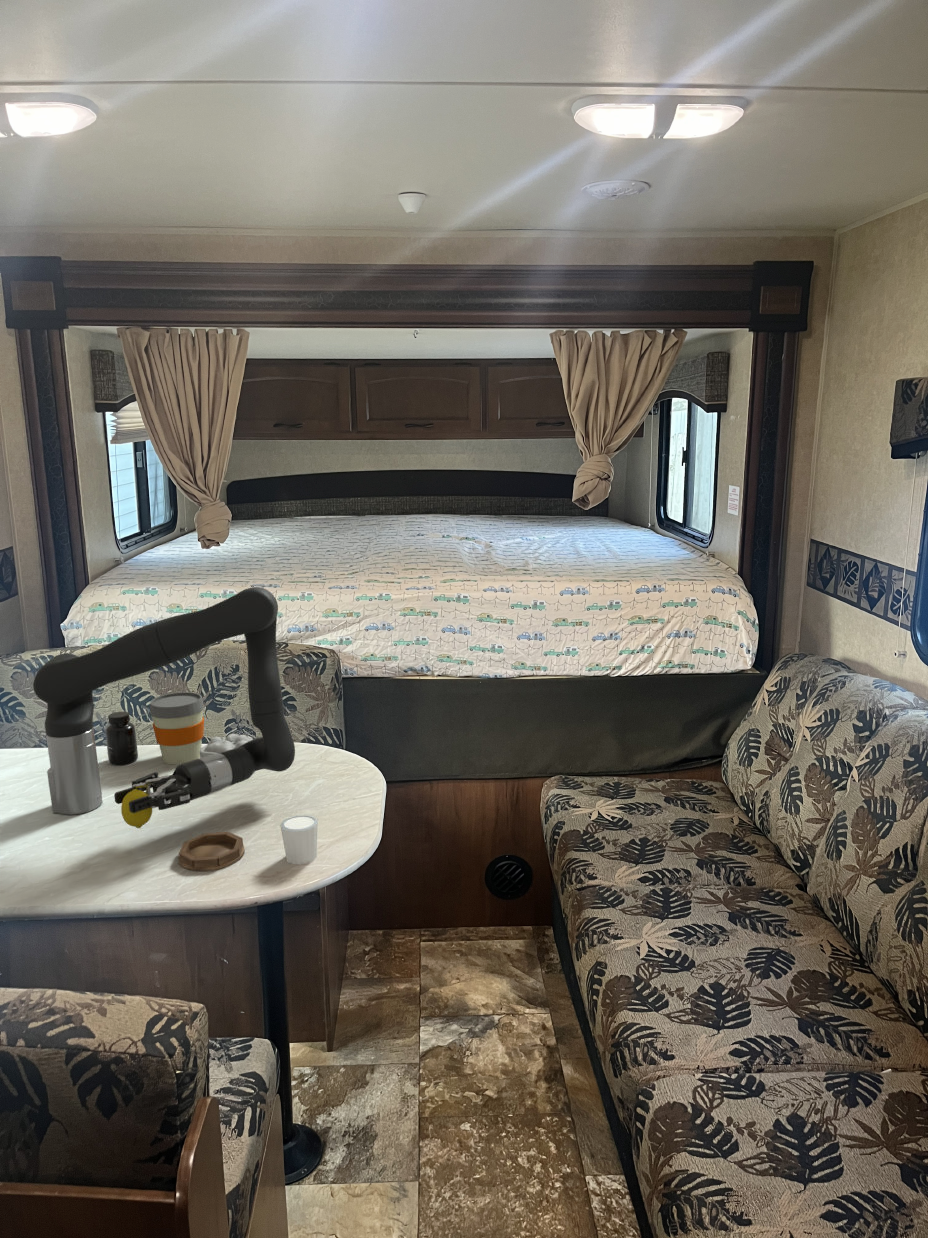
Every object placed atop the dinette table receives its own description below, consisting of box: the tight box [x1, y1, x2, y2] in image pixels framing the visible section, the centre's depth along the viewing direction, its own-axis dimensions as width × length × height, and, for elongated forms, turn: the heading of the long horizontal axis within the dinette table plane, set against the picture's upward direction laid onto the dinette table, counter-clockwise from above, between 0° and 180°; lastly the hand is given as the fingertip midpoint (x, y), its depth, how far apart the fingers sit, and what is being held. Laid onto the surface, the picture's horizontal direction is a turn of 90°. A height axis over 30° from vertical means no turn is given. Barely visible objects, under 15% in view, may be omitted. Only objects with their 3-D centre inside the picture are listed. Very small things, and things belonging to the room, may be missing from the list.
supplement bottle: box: [104, 711, 139, 766], centre depth 211 cm, size 7×7×12 cm
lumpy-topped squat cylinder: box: [200, 733, 256, 775], centre depth 202 cm, size 10×13×9 cm
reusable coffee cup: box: [149, 691, 205, 765], centre depth 212 cm, size 13×13×15 cm
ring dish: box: [178, 831, 246, 872], centre depth 163 cm, size 12×12×2 cm
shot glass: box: [280, 814, 319, 865], centre depth 161 cm, size 7×7×7 cm
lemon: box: [120, 789, 153, 829], centre depth 165 cm, size 6×6×8 cm
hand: (123, 803), depth 163 cm, fingers closed on lemon, 5 cm apart
